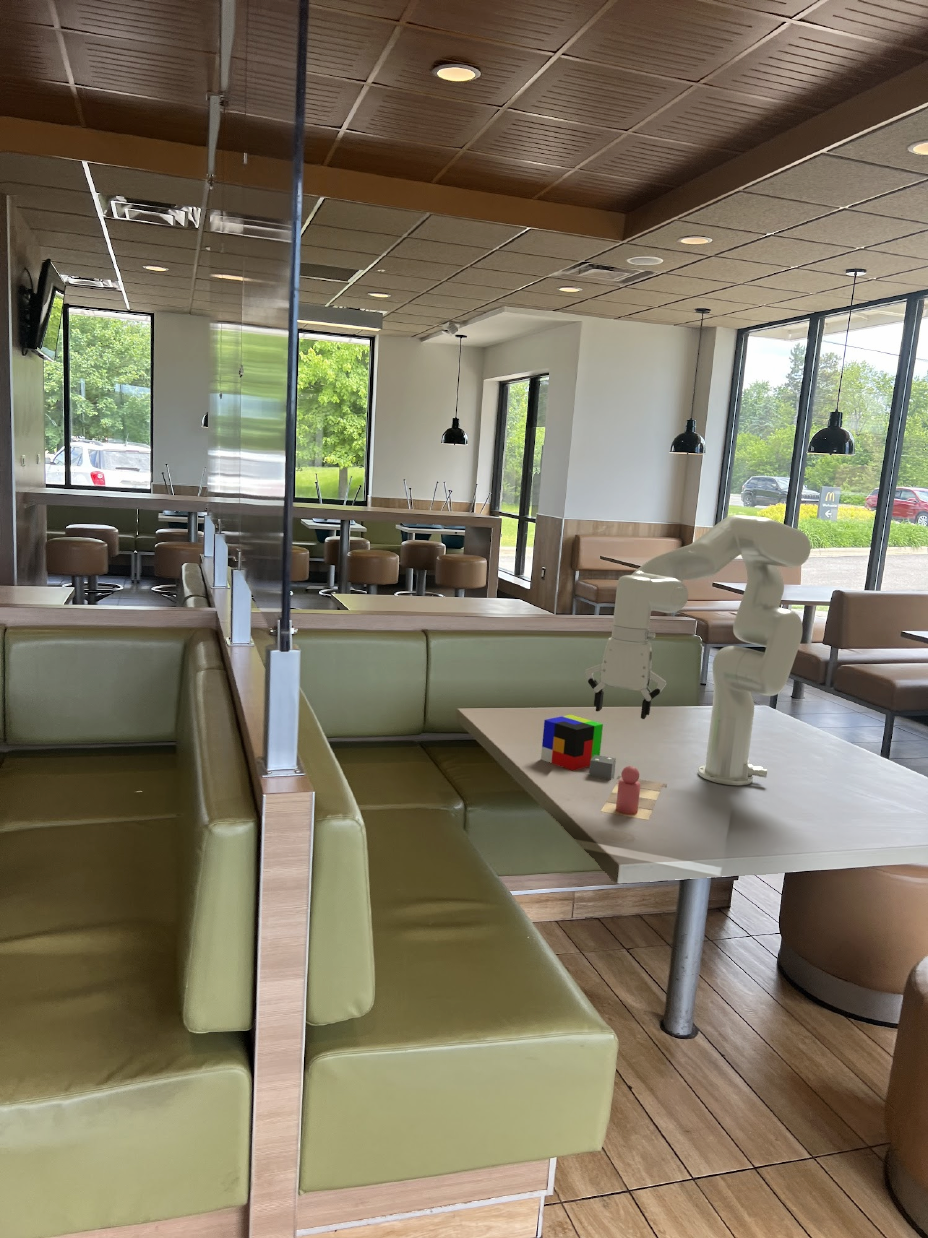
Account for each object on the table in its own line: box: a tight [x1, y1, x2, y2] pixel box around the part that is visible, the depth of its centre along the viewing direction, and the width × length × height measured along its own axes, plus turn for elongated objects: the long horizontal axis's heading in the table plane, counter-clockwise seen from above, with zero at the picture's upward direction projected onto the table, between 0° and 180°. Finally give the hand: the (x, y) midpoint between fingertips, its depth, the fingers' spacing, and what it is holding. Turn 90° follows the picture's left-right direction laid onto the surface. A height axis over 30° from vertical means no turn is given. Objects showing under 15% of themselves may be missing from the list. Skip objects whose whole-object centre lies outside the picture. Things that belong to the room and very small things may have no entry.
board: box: [600, 775, 668, 821], centre depth 196 cm, size 11×27×1 cm, turn 161°
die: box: [588, 755, 617, 781], centre depth 209 cm, size 5×5×5 cm
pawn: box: [615, 765, 641, 815], centre depth 186 cm, size 4×4×9 cm
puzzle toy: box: [540, 714, 604, 772], centre depth 221 cm, size 10×10×10 cm
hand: (620, 714), depth 194 cm, fingers open, 9 cm apart
